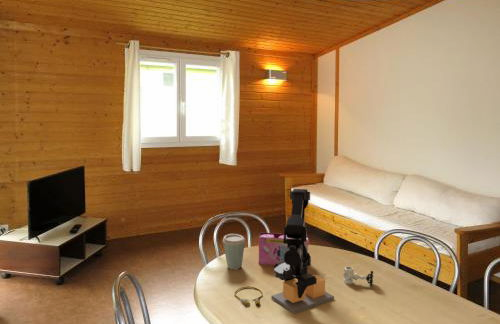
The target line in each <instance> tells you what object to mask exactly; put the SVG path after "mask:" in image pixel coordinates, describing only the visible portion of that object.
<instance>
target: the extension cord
mask: <svg viewBox="0 0 500 324" xmlns="http://www.w3.org/2000/svg"><path fill="white" fill-rule="evenodd" d="M242 288H245V289H246V288H254V289H253V290H256V289H257V291H258V290H259V291H258V292H259V293H260V294H261V295H260V296H258V297H256V298H254V299H253V300H254V303H255V305H256V306H257V307H260V306H261V301H260V300H261V299H262V297H263V295H264V294H263V291H261V289H259V288H258V287H255V286H241V287H239V288H238V289H236V290H235V292H234V294H235V293H236V292H237V291H238V290H239V291H240V289H241V290H242ZM239 291H238V292H239ZM238 292H237V293H238ZM237 293H236V294H235V296H236V297H237V298H239V299H238V300H240V302H241V301H242V302H241V303H242V304H243V305H244V306H245V305H246V306H245V307H248V305H249V306H251V303H250V302H249V301H247V300H248V299H244V298H240V297H239V296H238V295H237ZM235 296H234V297H235ZM236 297H235V298H236Z"/></svg>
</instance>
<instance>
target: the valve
mask: <svg viewBox="0 0 500 324" xmlns="http://www.w3.org/2000/svg"><path fill="white" fill-rule="evenodd" d="M359 279H360V280H361V281H362V280H363V281H364V280H365V281H366V282H367V283H368V284H369V287H373V286H374V285H373V283H374V280H373V279H374V271H373V270H370V273H368V274H367V275H366V276H365V275H363V274H358V272H355V273H354V268H353V267H352V266H345V267H343V283H344V284H345V285H352V284H353V283H354V281H358V280H359Z"/></svg>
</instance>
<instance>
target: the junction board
mask: <svg viewBox="0 0 500 324" xmlns="http://www.w3.org/2000/svg"><path fill="white" fill-rule="evenodd" d="M313 275H314V276H315V277H316V278H317V283H316V284H314V285H311V286H308V287H307V288H306V293H305V299H304V300H301V301H298V302H295V303H292V302H291V301H289V300H287V299H286V298H284V297H283V291H281V292H278V293H275V294H273V295H272V294H271V295H270V296H271V298H270V299H272V300H273V301H274V302H276V303H278V304H279V305H281V307H284V308H285V309H286V310H288V311H289V312H291V313H293V314H296V313H299V312H302V311H305V310H307V309H311V308H313V307H316V306H319V305H321V304H324V303H327V302H329V301H332V300H334V299H335V296H334V295H333V294H331V293H329V292H327V291H326V280H325V279H324V278H321V277H320V276H318V275H316V274H313Z"/></svg>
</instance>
